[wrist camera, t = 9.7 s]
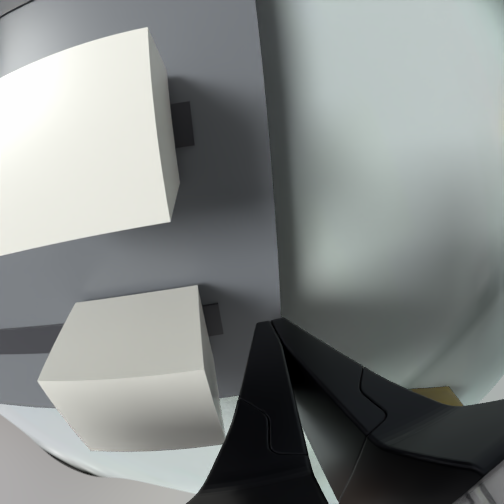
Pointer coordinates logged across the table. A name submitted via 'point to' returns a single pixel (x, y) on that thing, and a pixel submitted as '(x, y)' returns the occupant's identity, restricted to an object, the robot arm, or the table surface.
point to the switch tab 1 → (86, 143)
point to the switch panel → (188, 197)
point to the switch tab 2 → (137, 373)
